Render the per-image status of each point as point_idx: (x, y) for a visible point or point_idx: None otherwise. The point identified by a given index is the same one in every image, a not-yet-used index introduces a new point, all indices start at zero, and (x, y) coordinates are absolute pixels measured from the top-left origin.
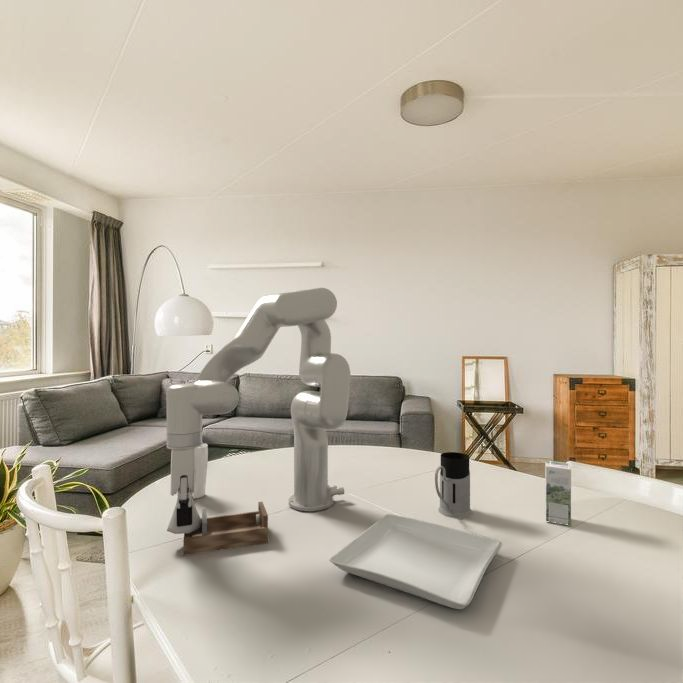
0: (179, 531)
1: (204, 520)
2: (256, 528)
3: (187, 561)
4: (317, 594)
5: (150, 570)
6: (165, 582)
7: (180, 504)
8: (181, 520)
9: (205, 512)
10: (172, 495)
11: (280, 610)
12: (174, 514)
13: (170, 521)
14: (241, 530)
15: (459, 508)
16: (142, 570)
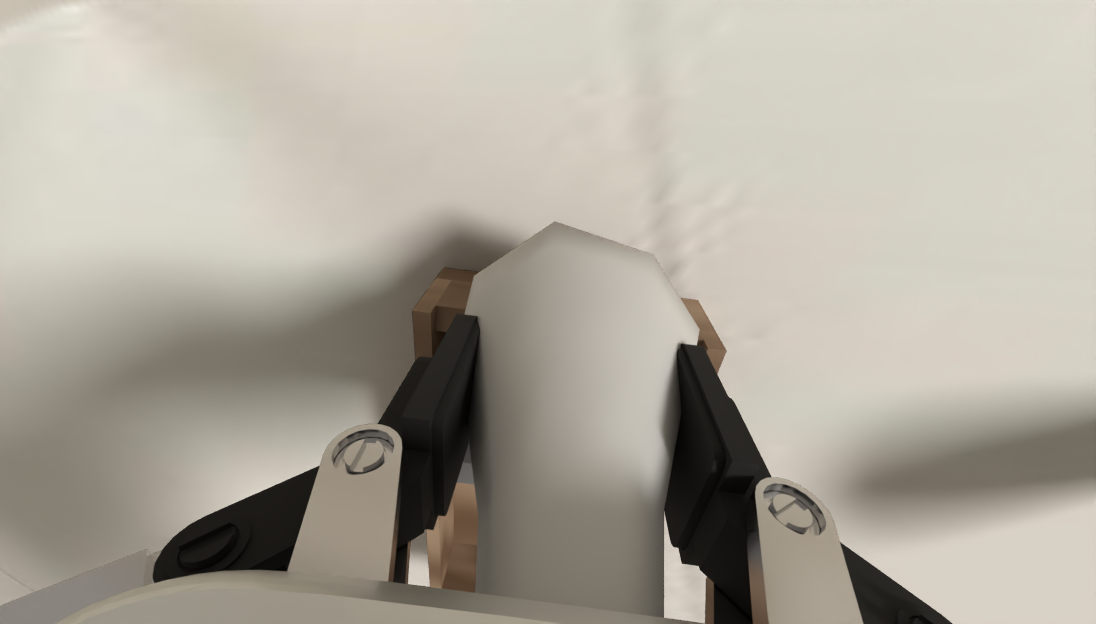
0: (468, 307)
1: (463, 472)
2: (435, 572)
3: (377, 278)
4: (127, 540)
5: (314, 81)
6: (180, 162)
7: (220, 515)
8: (415, 371)
9: None
10: (110, 599)
11: (38, 465)
12: (531, 342)
13: (548, 278)
14: (434, 534)
15: None
16: (321, 26)
